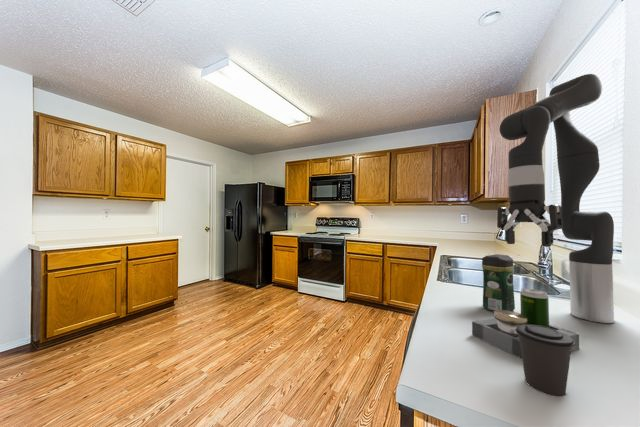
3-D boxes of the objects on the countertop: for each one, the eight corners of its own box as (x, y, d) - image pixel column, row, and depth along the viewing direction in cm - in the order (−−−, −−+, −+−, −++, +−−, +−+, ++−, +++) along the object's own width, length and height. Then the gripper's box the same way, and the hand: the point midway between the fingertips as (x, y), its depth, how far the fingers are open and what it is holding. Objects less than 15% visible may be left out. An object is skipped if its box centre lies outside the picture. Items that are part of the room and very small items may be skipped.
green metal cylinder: (545, 347, 59) (544, 295, 59) (517, 338, 63) (516, 290, 64) (552, 341, 62) (551, 292, 62) (525, 333, 66) (524, 287, 67)
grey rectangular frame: (519, 327, 70) (519, 314, 70) (579, 349, 58) (578, 334, 58) (472, 334, 65) (472, 321, 65) (527, 361, 53) (526, 344, 53)
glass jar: (506, 336, 64) (506, 309, 64) (534, 348, 58) (534, 318, 58) (488, 339, 62) (487, 311, 62) (515, 352, 56) (514, 321, 56)
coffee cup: (505, 371, 49) (504, 319, 49) (548, 373, 48) (546, 320, 49) (540, 401, 41) (539, 338, 41) (592, 403, 40) (590, 340, 41)
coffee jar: (492, 303, 91) (491, 252, 91) (518, 310, 84) (517, 255, 85) (478, 308, 86) (477, 253, 86) (505, 315, 79) (504, 256, 80)
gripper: (567, 181, 62) (570, 247, 61) (508, 188, 75) (509, 242, 74) (548, 179, 59) (550, 248, 59) (489, 187, 73) (491, 243, 72)
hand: (527, 245), depth 67 cm, fingers open, 8 cm apart
